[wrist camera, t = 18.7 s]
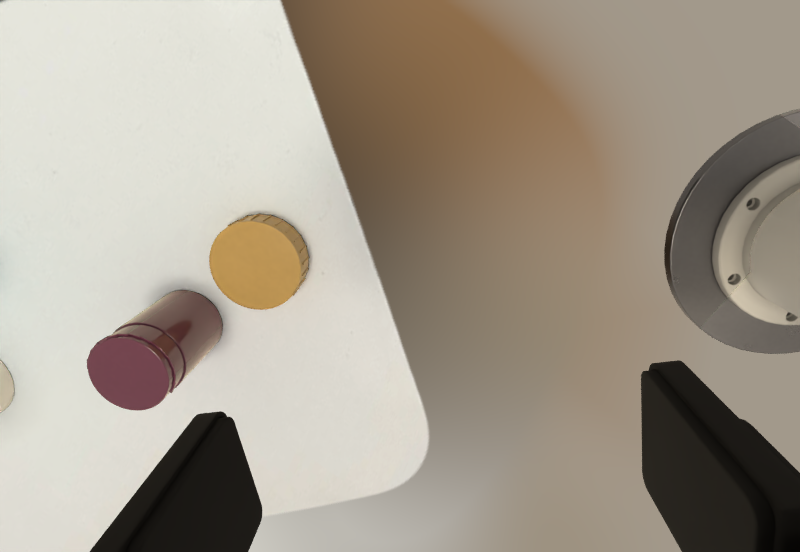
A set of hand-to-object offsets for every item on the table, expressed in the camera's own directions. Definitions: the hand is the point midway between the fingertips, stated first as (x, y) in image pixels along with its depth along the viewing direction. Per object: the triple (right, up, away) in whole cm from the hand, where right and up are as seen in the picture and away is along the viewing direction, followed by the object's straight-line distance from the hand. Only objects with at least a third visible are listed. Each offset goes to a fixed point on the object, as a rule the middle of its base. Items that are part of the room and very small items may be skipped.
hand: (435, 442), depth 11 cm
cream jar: (-17, 0, +27) cm, 32 cm away
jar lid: (-11, +5, +23) cm, 26 cm away
